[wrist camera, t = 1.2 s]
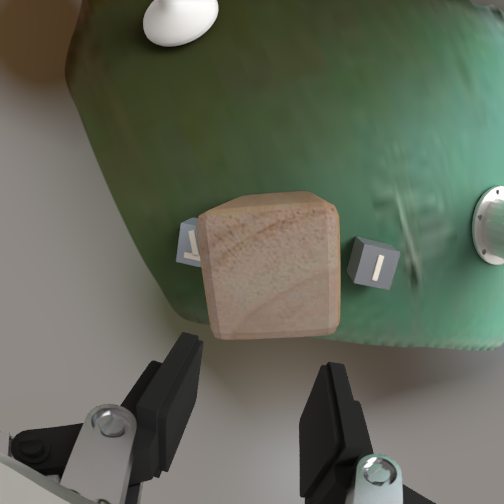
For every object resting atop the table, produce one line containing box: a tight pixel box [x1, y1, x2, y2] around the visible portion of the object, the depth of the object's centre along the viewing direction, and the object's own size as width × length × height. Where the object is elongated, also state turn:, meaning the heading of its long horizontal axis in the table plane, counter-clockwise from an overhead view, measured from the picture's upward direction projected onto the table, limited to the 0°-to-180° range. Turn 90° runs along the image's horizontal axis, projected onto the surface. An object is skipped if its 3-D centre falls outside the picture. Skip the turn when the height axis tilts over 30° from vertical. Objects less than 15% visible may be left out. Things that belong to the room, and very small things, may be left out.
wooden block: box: [196, 191, 341, 340], centre depth 30 cm, size 10×10×20 cm
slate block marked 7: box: [176, 218, 201, 267], centre depth 39 cm, size 5×5×5 cm
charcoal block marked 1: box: [346, 236, 401, 290], centre depth 37 cm, size 5×5×5 cm
